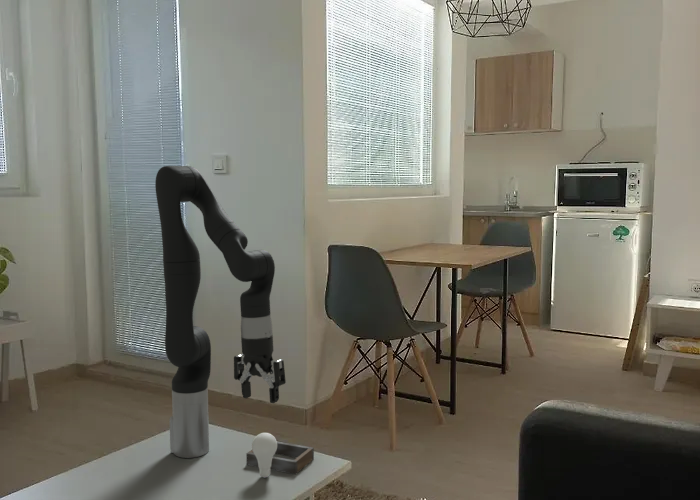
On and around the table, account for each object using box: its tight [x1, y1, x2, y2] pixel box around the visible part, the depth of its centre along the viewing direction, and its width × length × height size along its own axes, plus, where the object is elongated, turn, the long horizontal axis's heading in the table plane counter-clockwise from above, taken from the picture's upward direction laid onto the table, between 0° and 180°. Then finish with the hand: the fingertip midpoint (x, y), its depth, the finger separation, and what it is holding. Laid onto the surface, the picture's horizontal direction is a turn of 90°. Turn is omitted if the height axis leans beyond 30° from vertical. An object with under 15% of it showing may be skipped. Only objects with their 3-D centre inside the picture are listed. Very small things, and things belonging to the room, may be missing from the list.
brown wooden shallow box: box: [245, 441, 315, 475], centre depth 174 cm, size 14×10×3 cm
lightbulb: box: [251, 432, 278, 479], centre depth 165 cm, size 6×6×11 cm
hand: (260, 399), depth 165 cm, fingers open, 8 cm apart
